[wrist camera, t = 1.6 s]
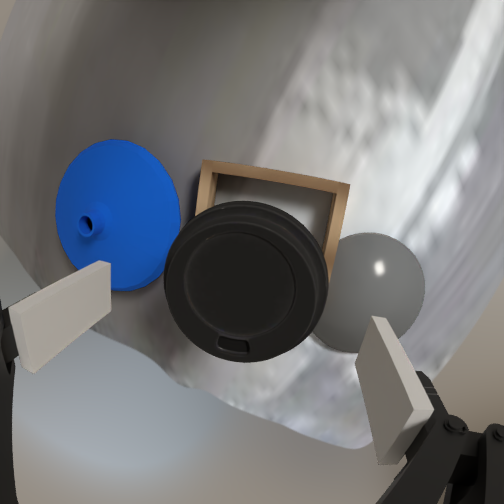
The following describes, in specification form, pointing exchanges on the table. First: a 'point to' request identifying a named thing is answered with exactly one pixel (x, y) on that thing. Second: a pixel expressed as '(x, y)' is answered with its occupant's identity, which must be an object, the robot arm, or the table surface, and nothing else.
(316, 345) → the table surface
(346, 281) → the grey round plate
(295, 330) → the coffee cup
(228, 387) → the table surface
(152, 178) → the blue spouted lid
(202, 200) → the wooden square frame
